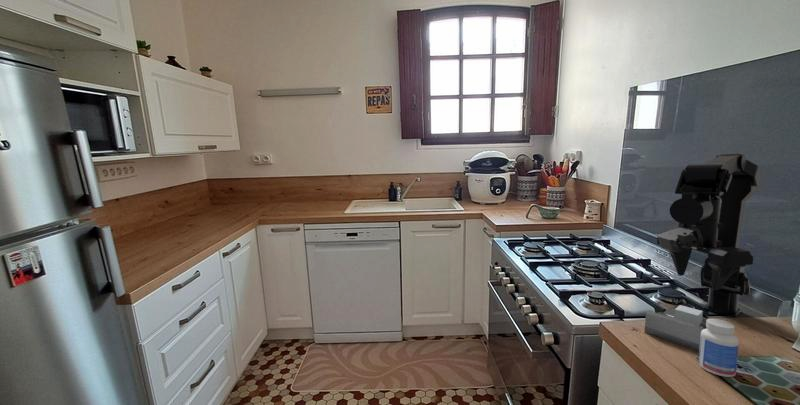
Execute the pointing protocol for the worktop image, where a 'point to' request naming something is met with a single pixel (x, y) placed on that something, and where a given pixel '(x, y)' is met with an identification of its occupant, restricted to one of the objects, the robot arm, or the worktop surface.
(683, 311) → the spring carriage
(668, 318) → the gauge base
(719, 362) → the pill bottle
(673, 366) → the worktop surface
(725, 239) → the robot arm
